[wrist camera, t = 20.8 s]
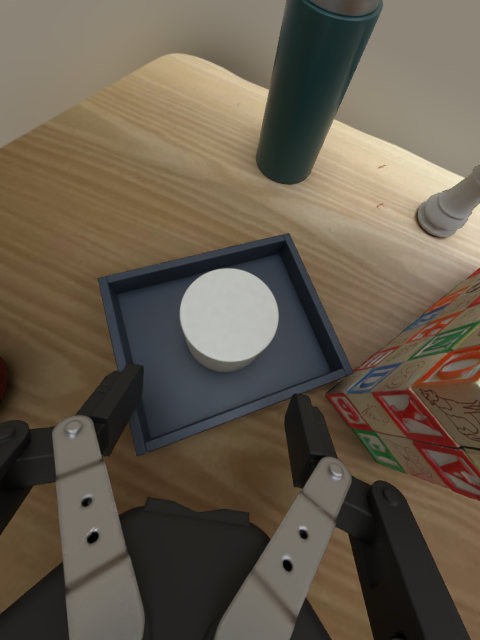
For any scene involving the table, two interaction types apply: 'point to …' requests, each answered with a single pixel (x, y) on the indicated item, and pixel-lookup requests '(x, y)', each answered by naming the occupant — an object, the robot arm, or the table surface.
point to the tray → (193, 378)
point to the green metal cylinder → (310, 81)
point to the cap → (228, 319)
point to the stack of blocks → (424, 395)
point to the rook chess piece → (451, 206)
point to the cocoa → (3, 378)
